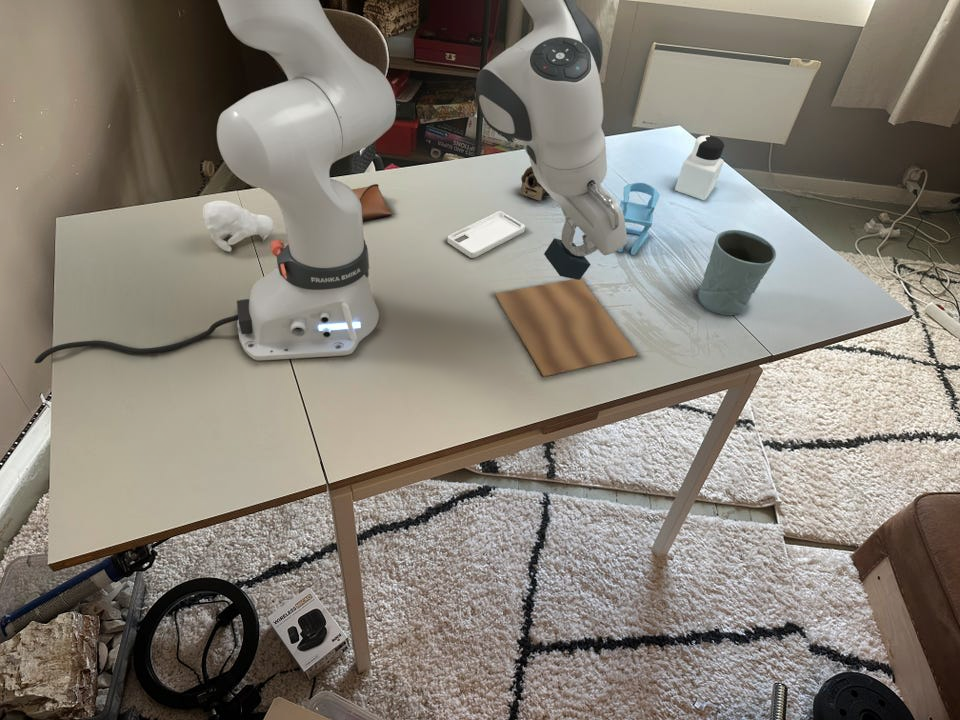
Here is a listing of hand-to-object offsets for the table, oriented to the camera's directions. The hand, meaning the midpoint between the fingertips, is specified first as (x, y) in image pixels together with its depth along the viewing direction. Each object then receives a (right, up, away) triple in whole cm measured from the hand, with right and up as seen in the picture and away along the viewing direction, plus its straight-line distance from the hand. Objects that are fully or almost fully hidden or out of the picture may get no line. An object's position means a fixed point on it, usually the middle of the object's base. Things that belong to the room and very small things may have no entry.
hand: (581, 234), depth 97 cm
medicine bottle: (+33, +20, +49) cm, 62 cm away
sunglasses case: (-42, +10, +31) cm, 53 cm away
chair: (+14, +4, +31) cm, 35 cm away
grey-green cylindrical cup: (+29, -8, +20) cm, 36 cm away
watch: (-3, -5, +4) cm, 6 cm away
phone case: (-14, +5, +29) cm, 33 cm away
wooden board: (-1, -13, +12) cm, 18 cm away
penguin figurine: (-60, +3, +23) cm, 64 cm away
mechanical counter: (0, +17, +43) cm, 46 cm away
